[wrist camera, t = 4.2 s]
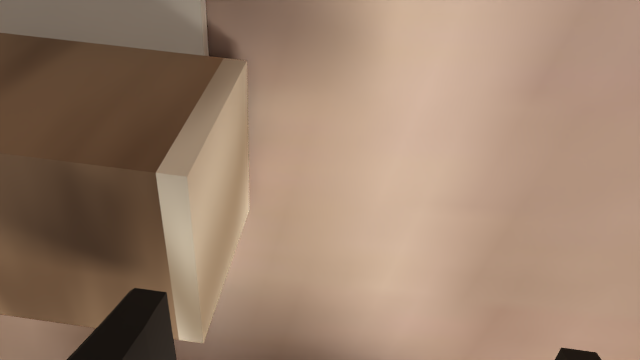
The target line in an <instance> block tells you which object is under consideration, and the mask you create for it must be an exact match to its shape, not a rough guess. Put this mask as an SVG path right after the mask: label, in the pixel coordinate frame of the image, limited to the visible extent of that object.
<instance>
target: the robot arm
mask: <svg viewBox="0 0 640 360" xmlns="http://www.w3.org/2000/svg"><path fill="white" fill-rule="evenodd" d="M67 360H176V354H175V347H174V340H173V333H172V326H171V319H170V312H169V305H168V298H167V292H161V291H154V290H147V289H140V288H134V289H132V290H131V291H129V292H128V294H127V295H126V296H125V297H124V298H123V299H122V300H121V302H120V303H119V304H118V305H117V306H116V307H115V308H114V309H113V311H112V312H111V313H110V314H109V315H108V316H107V317H106V318H105V319H104V321H103V322H102V323H101V324H100V325H99V326H98V327H97V328H96V329H95V330H94V331H93V333H92V334H91V335H90V336H89V337H88V338H87V339H86V340H85V341H84V342H83V343H82V344H81V345H80V346H79V347H78V349H77V350H76V351H75V352H74V353H73V354H72V355H71V356H70V357H69V358H68V359H67ZM555 360H601V358H600V357H599V356H598V354H597V353H596V352H589V351H581V350H574V349H567V348H561V349H560V351H559V353H558V355H557V357H556V359H555Z"/></svg>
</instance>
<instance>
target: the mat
mask: <svg viewBox="0 0 640 360" xmlns="http://www.w3.org/2000/svg"><path fill="white" fill-rule="evenodd" d="M0 33H8V34H16V35H25V36H34V37H43V38H52V39H61V40H69V41H78V42H87V43H96V44H105V45H114V46H123V47H131V48H140V49H149V50H158V51H167V52H176V53H184V54H193V55H202V56H209V51H208V34H207V17H206V1H205V0H0Z"/></svg>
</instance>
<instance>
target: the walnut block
mask: <svg viewBox="0 0 640 360" xmlns="http://www.w3.org/2000/svg"><path fill="white" fill-rule="evenodd" d="M248 213H249V151H248V88H247V61H246V60H238V59H229V58H220V57H211V56H202V55H193V54H184V53H176V52H167V51H158V50H149V49H140V48H131V47H123V46H114V45H105V44H96V43H87V42H78V41H69V40H61V39H52V38H43V37H34V36H25V35H16V34H8V33H0V314H1V315H8V316H15V317H22V318H29V319H36V320H43V321H50V322H57V323H64V324H71V325H78V326H85V327H92V328H97V327H98V326H99V325H100V324H101V323H102V322H103V321H104V319H105V318H106V317H107V316H108V315H109V314H110V313H111V312H112V311H113V309H114V308H115V307H116V306H117V305H118V304H119V303H120V302H121V300H122V299H123V298H124V297H125V296H126V295H127V294H128V292H129V291H131V290H132V289H134V288H140V289H147V290H154V291H161V292H167V298H168V305H169V312H170V319H171V326H172V333H173V339H176V340H183V341H189V342H196V343H204V341H205V338H206V335H207V332H208V329H209V326H210V323H211V320H212V317H213V314H214V311H215V309H216V306H217V303H218V300H219V297H220V294H221V291H222V288H223V285H224V282H225V279H226V277H227V274H228V271H229V268H230V265H231V262H232V259H233V256H234V253H235V250H236V247H237V245H238V242H239V239H240V236H241V233H242V230H243V227H244V224H245V221H246V218H247V215H248Z"/></svg>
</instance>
